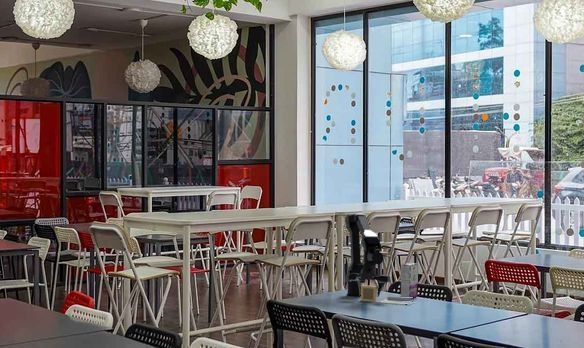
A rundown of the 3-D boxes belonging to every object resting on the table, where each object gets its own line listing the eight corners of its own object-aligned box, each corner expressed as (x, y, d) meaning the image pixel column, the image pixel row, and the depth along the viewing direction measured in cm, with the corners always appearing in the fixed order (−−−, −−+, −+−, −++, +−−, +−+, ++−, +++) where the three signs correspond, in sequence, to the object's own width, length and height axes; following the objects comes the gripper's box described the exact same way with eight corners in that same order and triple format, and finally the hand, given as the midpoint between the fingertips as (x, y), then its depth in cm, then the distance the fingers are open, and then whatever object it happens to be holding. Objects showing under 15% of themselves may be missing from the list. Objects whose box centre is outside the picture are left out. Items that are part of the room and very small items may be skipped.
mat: (379, 302, 395) (379, 298, 395) (386, 299, 408) (386, 295, 408) (409, 305, 390) (409, 301, 390) (415, 301, 404) (415, 297, 404)
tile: (360, 300, 401) (361, 285, 401) (361, 300, 403) (362, 285, 403) (375, 301, 399) (375, 286, 399) (376, 301, 401) (376, 286, 401)
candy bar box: (407, 296, 424) (408, 262, 424) (417, 297, 422) (418, 263, 422) (399, 298, 414) (400, 264, 414) (409, 299, 412) (410, 264, 412)
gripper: (345, 262, 397) (344, 296, 396) (385, 264, 390) (384, 299, 390) (351, 260, 407) (350, 294, 407) (391, 263, 401) (389, 297, 401)
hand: (368, 296), depth 401 cm, fingers open, 9 cm apart
